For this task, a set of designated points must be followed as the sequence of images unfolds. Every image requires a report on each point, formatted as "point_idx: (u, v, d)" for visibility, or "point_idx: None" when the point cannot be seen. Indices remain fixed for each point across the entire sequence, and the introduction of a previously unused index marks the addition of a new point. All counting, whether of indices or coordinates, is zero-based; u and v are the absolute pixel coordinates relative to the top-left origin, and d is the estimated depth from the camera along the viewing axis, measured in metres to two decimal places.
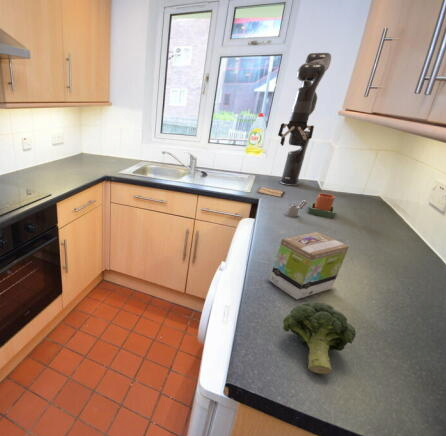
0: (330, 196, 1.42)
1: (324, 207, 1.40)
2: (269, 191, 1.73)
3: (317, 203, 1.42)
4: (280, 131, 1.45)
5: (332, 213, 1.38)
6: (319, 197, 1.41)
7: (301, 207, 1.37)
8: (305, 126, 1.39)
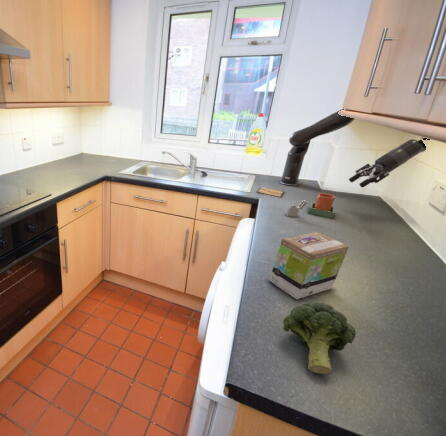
0: (330, 196, 1.42)
1: (324, 207, 1.40)
2: (269, 191, 1.73)
3: (317, 203, 1.42)
4: (360, 168, 1.40)
5: (332, 213, 1.38)
6: (319, 197, 1.41)
7: (301, 207, 1.37)
8: (381, 169, 1.30)
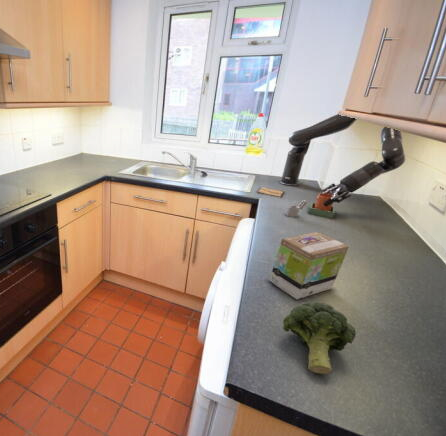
0: (330, 196, 1.42)
1: (324, 207, 1.40)
2: (269, 191, 1.73)
3: (317, 203, 1.42)
4: (326, 188, 1.45)
5: (332, 213, 1.38)
6: (319, 197, 1.41)
7: (301, 207, 1.37)
8: (344, 189, 1.35)
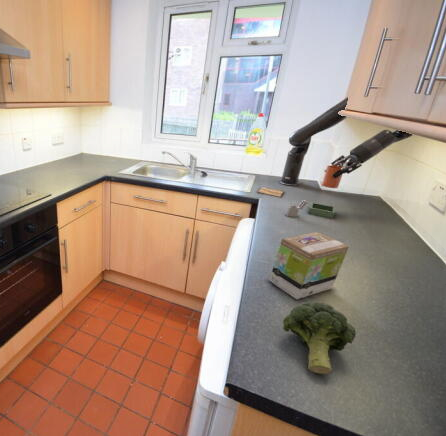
0: (339, 168, 1.37)
1: (333, 179, 1.35)
2: (269, 191, 1.73)
3: (326, 175, 1.37)
4: (335, 160, 1.40)
5: (332, 213, 1.38)
6: (328, 169, 1.35)
7: (301, 207, 1.37)
8: (354, 160, 1.30)
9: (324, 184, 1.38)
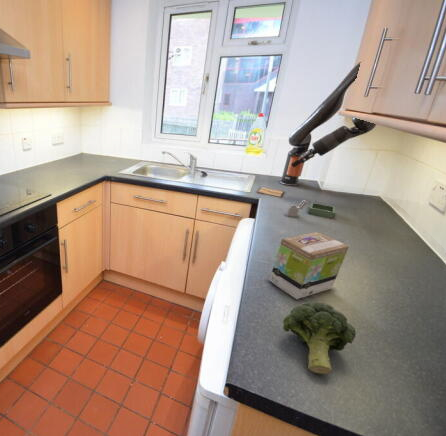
0: None
1: (293, 168, 1.53)
2: (269, 191, 1.73)
3: (289, 165, 1.56)
4: None
5: (332, 213, 1.38)
6: (290, 159, 1.54)
7: (301, 207, 1.37)
8: (311, 151, 1.46)
9: (287, 172, 1.57)
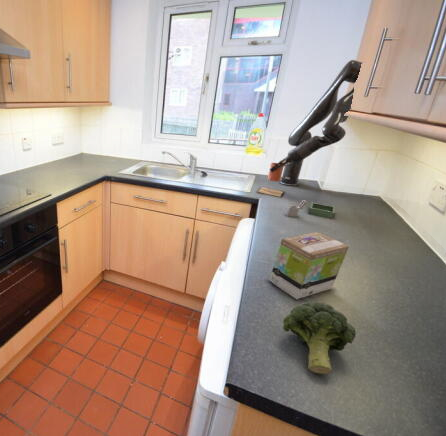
0: None
1: (271, 173, 1.67)
2: (269, 191, 1.73)
3: (269, 170, 1.69)
4: None
5: (332, 213, 1.38)
6: None
7: (301, 207, 1.37)
8: (286, 158, 1.59)
9: None
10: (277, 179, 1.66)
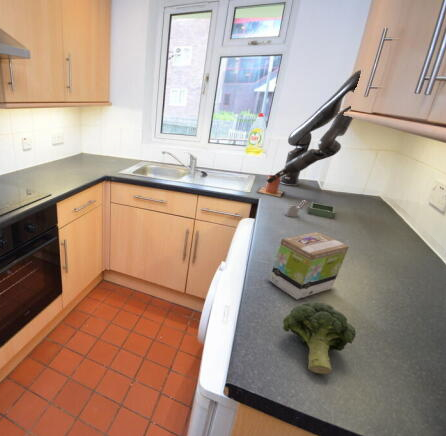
0: None
1: (268, 185, 1.69)
2: None
3: None
4: None
5: (332, 213, 1.38)
6: None
7: (301, 207, 1.37)
8: (283, 170, 1.62)
9: (265, 189, 1.73)
10: (274, 191, 1.69)
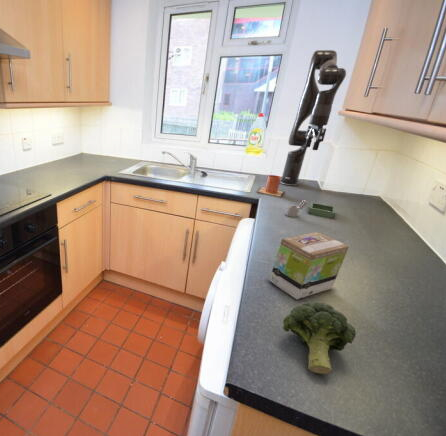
0: None
1: (268, 185, 1.69)
2: None
3: None
4: (306, 133, 1.52)
5: (332, 213, 1.38)
6: None
7: (301, 207, 1.37)
8: (317, 129, 1.42)
9: (265, 189, 1.73)
10: (274, 191, 1.69)
